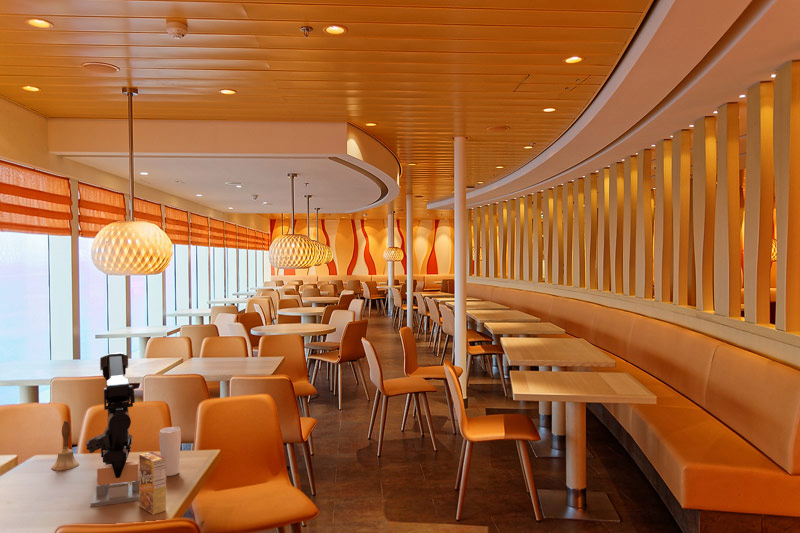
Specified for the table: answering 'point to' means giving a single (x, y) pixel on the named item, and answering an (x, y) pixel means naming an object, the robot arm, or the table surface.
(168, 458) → the drinking glass
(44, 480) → the table surface
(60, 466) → the hand bell
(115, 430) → the robot arm
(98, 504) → the display stand
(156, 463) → the candy box
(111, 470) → the orange bracket
